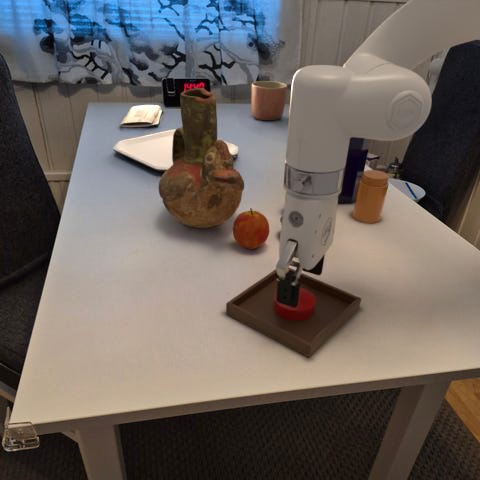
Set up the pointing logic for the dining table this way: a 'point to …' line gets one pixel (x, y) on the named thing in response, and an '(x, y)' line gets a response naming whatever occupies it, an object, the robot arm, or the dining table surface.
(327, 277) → the dining table surface
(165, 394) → the dining table surface
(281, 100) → the planter
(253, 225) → the fruit
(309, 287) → the tray
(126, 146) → the plate
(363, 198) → the jar
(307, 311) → the jar lid
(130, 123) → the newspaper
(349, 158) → the bottle
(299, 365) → the dining table surface
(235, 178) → the ceramic vessel
